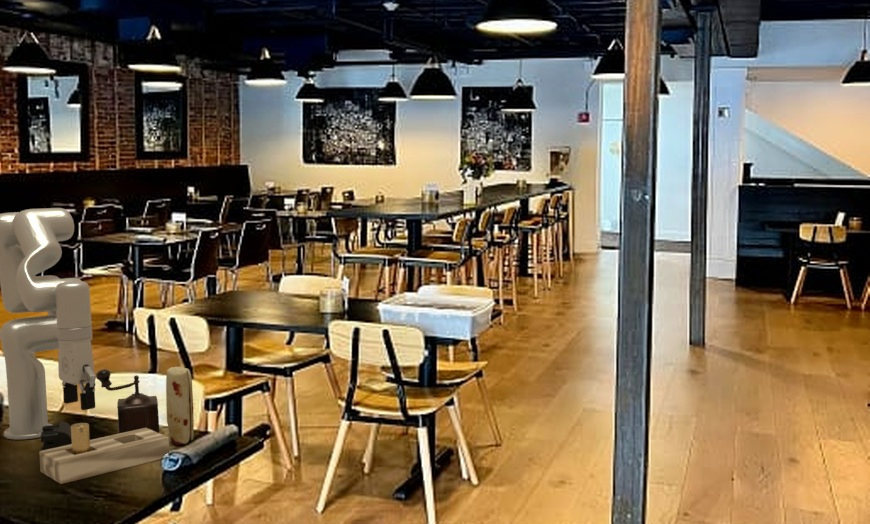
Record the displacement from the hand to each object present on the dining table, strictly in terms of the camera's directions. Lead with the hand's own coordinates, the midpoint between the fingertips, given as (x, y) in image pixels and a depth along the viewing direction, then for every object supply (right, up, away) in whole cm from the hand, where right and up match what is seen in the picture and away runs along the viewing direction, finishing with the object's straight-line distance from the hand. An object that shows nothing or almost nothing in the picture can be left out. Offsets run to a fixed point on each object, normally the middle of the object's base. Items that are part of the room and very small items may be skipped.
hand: (79, 405), depth 217 cm
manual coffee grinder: (+2, -13, +29) cm, 32 cm away
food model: (+18, -13, +23) cm, 32 cm away
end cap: (-12, -15, +16) cm, 25 cm away
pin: (0, -16, +2) cm, 16 cm away
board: (+4, -15, +6) cm, 17 cm away
